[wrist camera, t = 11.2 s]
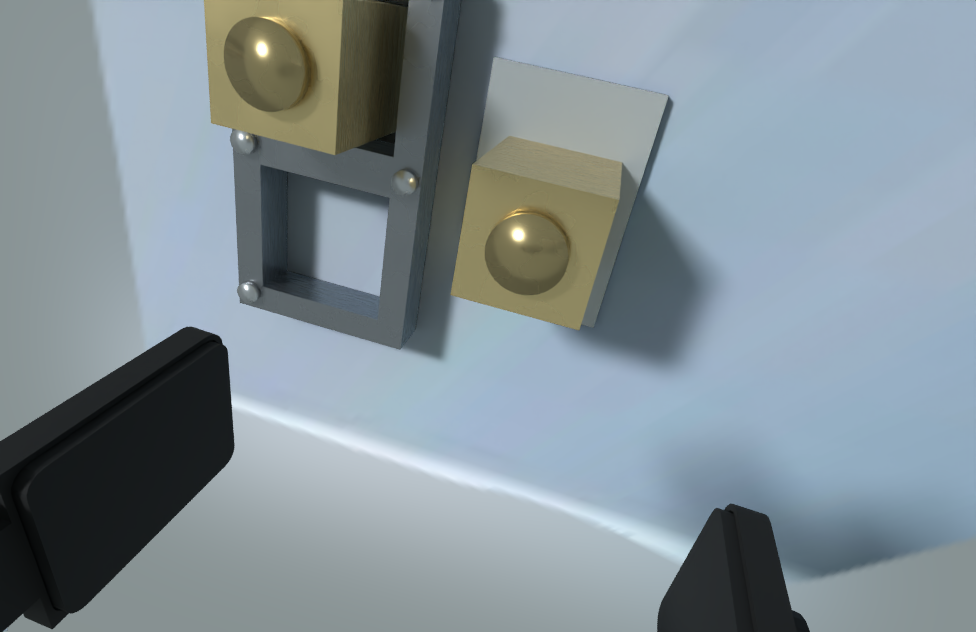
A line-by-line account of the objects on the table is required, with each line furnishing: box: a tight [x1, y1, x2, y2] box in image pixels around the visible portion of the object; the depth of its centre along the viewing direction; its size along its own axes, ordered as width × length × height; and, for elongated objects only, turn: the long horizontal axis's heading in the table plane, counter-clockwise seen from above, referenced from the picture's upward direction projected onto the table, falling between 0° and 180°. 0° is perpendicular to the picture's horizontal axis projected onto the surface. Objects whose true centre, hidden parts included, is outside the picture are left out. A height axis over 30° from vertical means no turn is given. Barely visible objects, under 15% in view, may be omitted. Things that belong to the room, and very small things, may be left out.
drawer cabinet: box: [230, 0, 461, 349], centre depth 28 cm, size 10×19×3 cm, turn 170°
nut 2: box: [451, 136, 622, 330], centre depth 24 cm, size 6×6×8 cm
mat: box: [476, 57, 668, 328], centre depth 27 cm, size 8×12×1 cm, turn 170°
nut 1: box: [204, 0, 408, 155], centre depth 23 cm, size 6×6×8 cm
